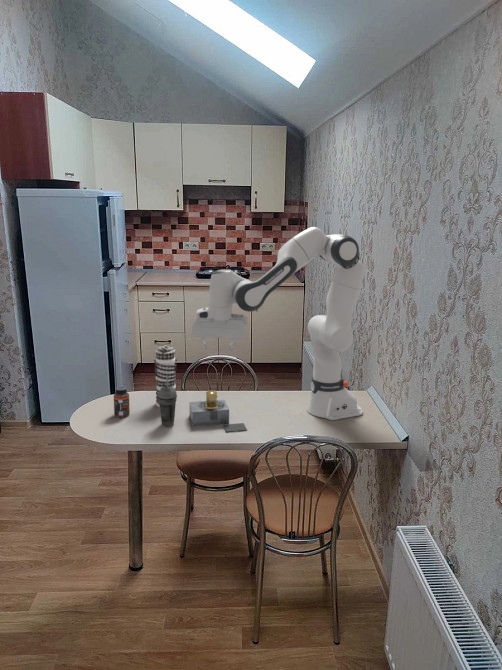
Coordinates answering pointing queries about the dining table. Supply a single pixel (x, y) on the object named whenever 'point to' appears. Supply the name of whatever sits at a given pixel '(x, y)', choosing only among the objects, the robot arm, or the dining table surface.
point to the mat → (234, 427)
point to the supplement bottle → (121, 402)
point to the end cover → (211, 399)
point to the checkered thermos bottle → (165, 368)
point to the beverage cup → (167, 404)
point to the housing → (208, 414)
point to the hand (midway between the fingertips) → (217, 348)
